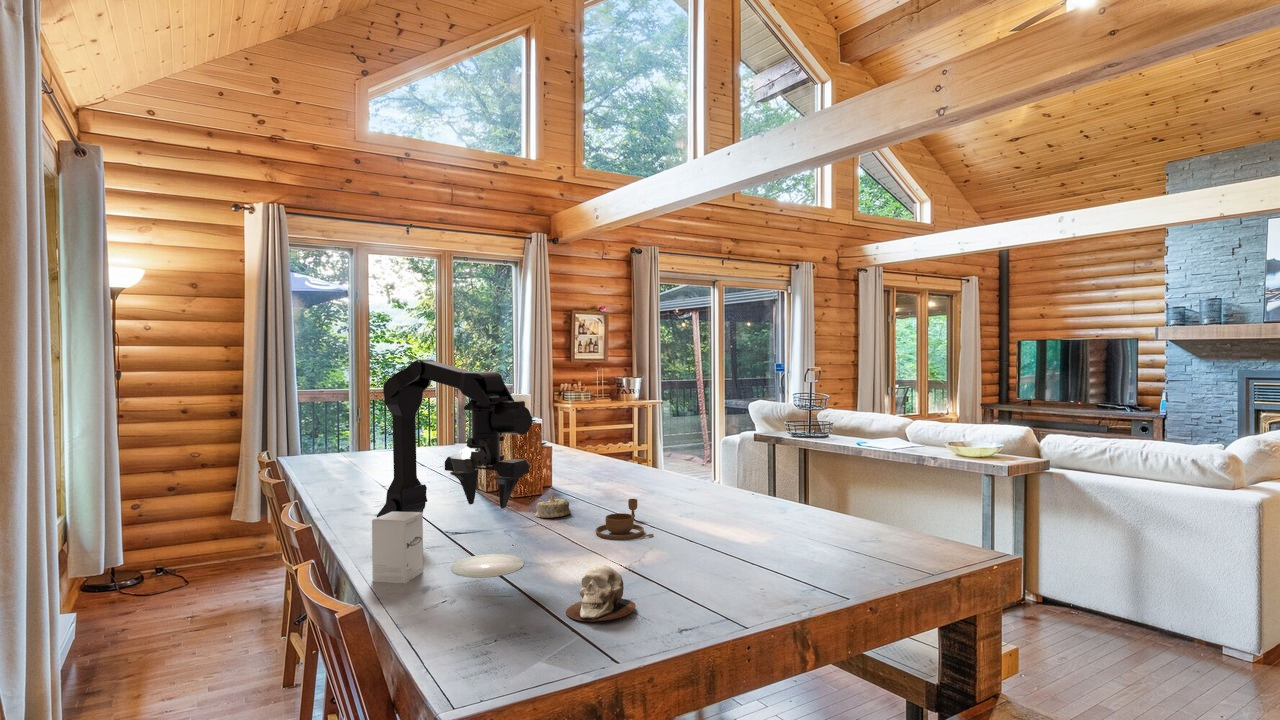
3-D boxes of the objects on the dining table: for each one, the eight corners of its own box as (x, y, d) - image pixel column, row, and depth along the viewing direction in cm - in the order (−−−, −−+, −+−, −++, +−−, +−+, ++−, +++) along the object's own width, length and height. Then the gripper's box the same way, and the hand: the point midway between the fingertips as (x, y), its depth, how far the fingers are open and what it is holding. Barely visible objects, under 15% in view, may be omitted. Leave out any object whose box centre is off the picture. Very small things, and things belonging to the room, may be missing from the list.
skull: (618, 623, 113) (576, 574, 115) (583, 659, 117) (544, 610, 120) (652, 593, 123) (613, 549, 126) (619, 626, 127) (582, 582, 130)
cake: (578, 514, 194) (578, 495, 194) (550, 521, 187) (550, 501, 186) (554, 509, 201) (554, 490, 200) (527, 515, 193) (526, 496, 193)
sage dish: (435, 571, 145) (435, 569, 145) (484, 552, 158) (484, 550, 158) (491, 582, 137) (491, 580, 137) (538, 561, 151) (538, 559, 151)
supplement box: (405, 585, 137) (404, 520, 136) (371, 582, 138) (370, 518, 138) (424, 573, 144) (423, 511, 144) (392, 570, 145) (391, 510, 145)
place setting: (577, 534, 175) (576, 511, 175) (631, 519, 190) (630, 497, 189) (628, 547, 163) (628, 522, 163) (682, 530, 178) (681, 507, 178)
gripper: (424, 434, 145) (425, 509, 145) (494, 439, 136) (495, 519, 136) (462, 428, 154) (463, 499, 155) (530, 432, 145) (531, 507, 146)
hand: (486, 506), depth 147 cm, fingers open, 8 cm apart
